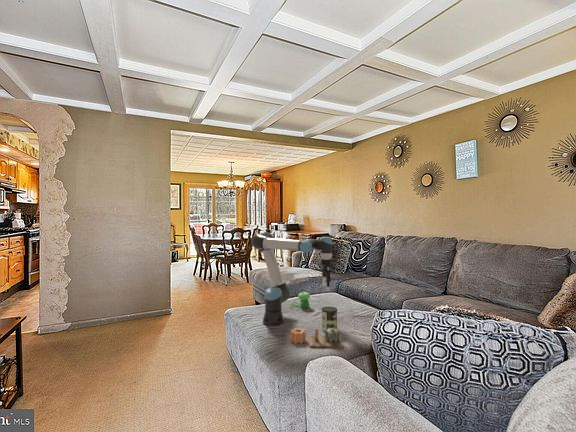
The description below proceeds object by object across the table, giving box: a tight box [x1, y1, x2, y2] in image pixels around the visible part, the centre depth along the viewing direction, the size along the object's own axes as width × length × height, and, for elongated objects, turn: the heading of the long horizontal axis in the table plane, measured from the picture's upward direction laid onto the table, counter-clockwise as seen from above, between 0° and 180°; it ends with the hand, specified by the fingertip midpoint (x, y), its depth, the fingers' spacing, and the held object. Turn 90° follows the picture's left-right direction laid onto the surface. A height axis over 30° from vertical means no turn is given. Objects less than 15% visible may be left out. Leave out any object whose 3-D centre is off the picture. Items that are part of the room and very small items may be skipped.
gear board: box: [307, 327, 344, 349], centre depth 182 cm, size 19×14×8 cm
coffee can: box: [321, 306, 338, 333], centre depth 201 cm, size 10×10×14 cm
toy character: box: [288, 290, 311, 309], centre depth 248 cm, size 10×18×13 cm, turn 82°
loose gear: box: [290, 327, 307, 345], centre depth 185 cm, size 9×9×6 cm
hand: (326, 288), depth 214 cm, fingers open, 13 cm apart
